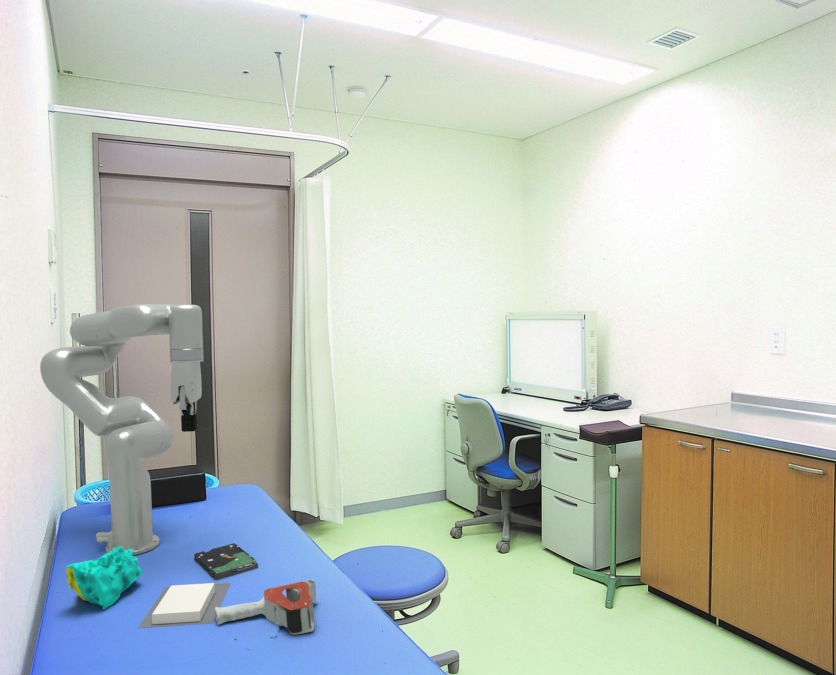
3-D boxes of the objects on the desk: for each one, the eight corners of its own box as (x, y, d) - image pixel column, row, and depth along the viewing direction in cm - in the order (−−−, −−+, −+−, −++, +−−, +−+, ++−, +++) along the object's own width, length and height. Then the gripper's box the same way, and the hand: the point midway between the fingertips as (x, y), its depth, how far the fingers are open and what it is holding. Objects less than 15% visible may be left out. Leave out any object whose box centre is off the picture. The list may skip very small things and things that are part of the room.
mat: (137, 631, 115) (137, 628, 115) (165, 589, 132) (165, 586, 132) (212, 626, 116) (212, 623, 116) (230, 585, 133) (230, 582, 133)
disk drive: (193, 565, 146) (216, 585, 134) (193, 553, 146) (215, 573, 134) (234, 553, 152) (259, 571, 141) (234, 542, 152) (259, 560, 141)
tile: (171, 595, 128) (152, 624, 116) (171, 585, 128) (151, 614, 116) (214, 592, 129) (200, 621, 117) (214, 583, 129) (199, 611, 117)
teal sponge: (54, 564, 129) (113, 524, 136) (86, 608, 131) (142, 565, 139) (59, 577, 117) (123, 531, 124) (94, 624, 119) (155, 577, 126)
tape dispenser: (207, 631, 117) (281, 655, 106) (204, 604, 117) (278, 626, 106) (273, 590, 132) (344, 608, 121) (271, 566, 132) (341, 582, 121)
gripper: (180, 353, 152) (182, 425, 153) (160, 358, 137) (163, 438, 138) (210, 353, 152) (212, 424, 153) (194, 358, 137) (196, 437, 138)
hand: (189, 430), depth 145 cm, fingers closed
